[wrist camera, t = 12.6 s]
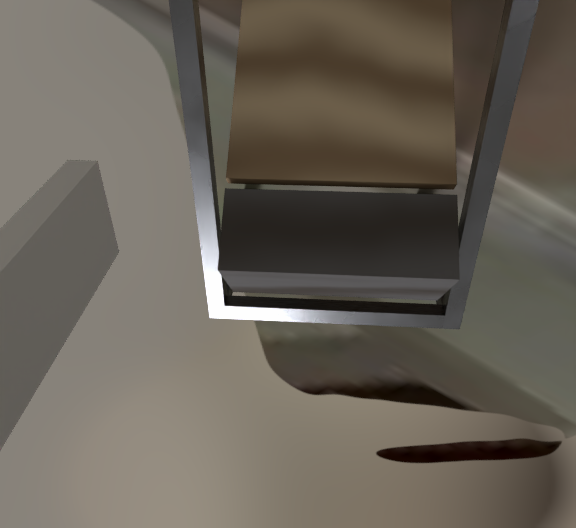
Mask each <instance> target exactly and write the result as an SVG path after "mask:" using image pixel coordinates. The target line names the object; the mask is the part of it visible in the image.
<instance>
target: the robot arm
mask: <svg viewBox="0 0 576 528" xmlns="http://www.w3.org/2000/svg"><path fill="white" fill-rule="evenodd" d="M118 253H119V250H118V246H117V241H116V237H115V233H114V228H113V224H112V220H111V216H110V212H109V208H108V204H107V199H106V195H105V191H104V186H103V182H102V178H101V174H100V170H99V165H98V161H80V160H67V162H66V163H65V164H64V165H63V166H62V167H61V168H60V169H59V170H58V171H57V172H56V173H55V174H54V175H53V176H52V177H51V178H50V179H49V180H48V181H47V182H46V183H45V184H44V185H43V186H42V187H41V188H40V189H39V190H38V191H37V192H36V193H35V194H34V195H33V196H32V197H31V198H30V199H29V200H28V201H27V202H26V203H25V204H24V205H23V206H22V207H21V208H20V209H19V211H18V212H17V213H16V214H15V215H14V216H13V217H12V218H11V219H10V220H9V221H8V222H7V223H6V224H5V225H4V226H3V227H2V228H1V229H0V450H1V449H2V447H3V445H4V444H5V442H6V440H7V438H8V437H9V435H10V434H11V432H12V430H13V429H14V427H15V425H16V423H17V422H18V420H19V419H20V417H21V415H22V413H23V412H24V410H25V408H26V407H27V405H28V403H29V402H30V400H31V398H32V397H33V395H34V393H35V392H36V390H37V388H38V387H39V385H40V383H41V382H42V380H43V378H44V376H45V375H46V373H47V372H48V370H49V368H50V367H51V365H52V363H53V362H54V360H55V358H56V357H57V355H58V353H59V351H60V350H61V348H62V347H63V345H64V343H65V342H66V340H67V338H68V337H69V335H70V333H71V332H72V330H73V328H74V327H75V325H76V323H77V322H78V320H79V318H80V316H81V315H82V313H83V311H84V310H85V308H86V306H87V305H88V303H89V301H90V300H91V298H92V296H93V295H94V293H95V291H96V290H97V288H98V286H99V285H100V283H101V281H102V280H103V278H104V276H105V275H106V273H107V271H108V270H109V268H110V266H111V265H112V263H113V261H114V260H115V258H116V256H117V255H118Z"/></svg>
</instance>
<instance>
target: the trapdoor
mask: <svg viewBox="0 0 576 528" xmlns="http://www.w3.org/2000/svg"><path fill="white" fill-rule="evenodd" d="M226 179H227V182H228V183H236V184H273V185H310V186H346V187H383V188H420V189H454V188H455V186H456V185H457V173H456V140H455V107H454V75H453V42H452V9H451V0H242V11H241V22H240V32H239V43H238V54H237V65H236V76H235V87H234V97H233V108H232V119H231V130H230V141H229V152H228V162H227V173H226ZM218 272H219V273H220V274H221V276H222V277H223V278H224V280H225V281H226V282H227V284H228V285H229V286H230V288H231V289H232V290H233V292H249V293H273V294H296V295H320V296H344V297H368V298H392V299H416V300H438V299H439V298H440V297H442V296H443V295H444V294H445V293H446V292H447V291H448V290H449V289H450V288H451V287H452V286H453V285H455V284H456V283H457V282H458V281H459V280H460V272H459V239H458V206H457V195H441V194H405V193H369V192H333V191H298V190H262V189H226V188H225V195H224V206H223V216H222V227H221V238H220V249H219V260H218Z"/></svg>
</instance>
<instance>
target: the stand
mask: <svg viewBox="0 0 576 528" xmlns="http://www.w3.org/2000/svg"><path fill="white" fill-rule="evenodd" d="M538 2H539V0H506V2H505V7H504V11H503V16H502V21H501V26H500V31H499V35H498V40H497V45H496V50H495V55H494V59H493V64H492V69H491V74H490V79H489V83H488V88H487V93H486V98H485V103H484V107H483V112H482V117H481V122H480V127H479V131H478V136H477V141H476V146H475V151H474V155H473V160H472V165H471V170H470V175H469V179H468V184H467V189H466V194H465V199H464V203H463V208H462V213H461V218H460V223H459V227H458V239H459V272H460V280H459V281H458V282H457V283H456V284H455V285H453V286H452V287H451V288H450V289H449V290H448V291H447V292H446V293H445V294H444V295H443V296H442V297H440V298H439V299H438V300H436V303H437V304H416V303H392V302H368V301H345V300H321V299H297V298H274V297H250V296H232V293H233V290H232V289H231V288H230V286H229V285H228V284H227V282H226V281H225V280H224V278H223V277H222V276H221V274H220V273H219V272H218V260H219V249H220V238H221V227H220V216H219V206H218V196H217V186H216V176H215V166H214V156H213V146H212V136H211V126H210V116H209V106H208V96H207V86H206V76H205V66H204V56H203V46H202V36H201V26H200V16H199V6H198V0H169V6H170V14H171V21H172V29H173V37H174V45H175V52H176V60H177V68H178V76H179V84H180V91H181V99H182V107H183V115H184V122H185V130H186V138H187V146H188V153H189V161H190V169H191V177H192V184H193V192H194V200H195V208H196V216H197V223H198V231H199V238H200V247H201V253H202V262H203V270H204V277H205V285H206V293H207V301H208V308H209V316H210V318H225V319H246V320H268V321H290V322H312V323H334V324H356V325H378V326H400V327H422V328H444V329H460V325H461V321H462V317H463V313H464V309H465V305H466V300H467V296H468V292H469V288H470V284H471V280H472V276H473V271H474V267H475V263H476V259H477V255H478V251H479V247H480V242H481V238H482V234H483V230H484V226H485V222H486V218H487V213H488V209H489V205H490V201H491V197H492V193H493V189H494V184H495V180H496V176H497V172H498V168H499V164H500V160H501V155H502V151H503V147H504V143H505V139H506V135H507V131H508V126H509V122H510V118H511V114H512V110H513V106H514V102H515V97H516V93H517V89H518V85H519V81H520V77H521V73H522V68H523V64H524V60H525V56H526V52H527V48H528V44H529V39H530V35H531V31H532V27H533V23H534V19H535V15H536V10H537V6H538Z"/></svg>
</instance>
